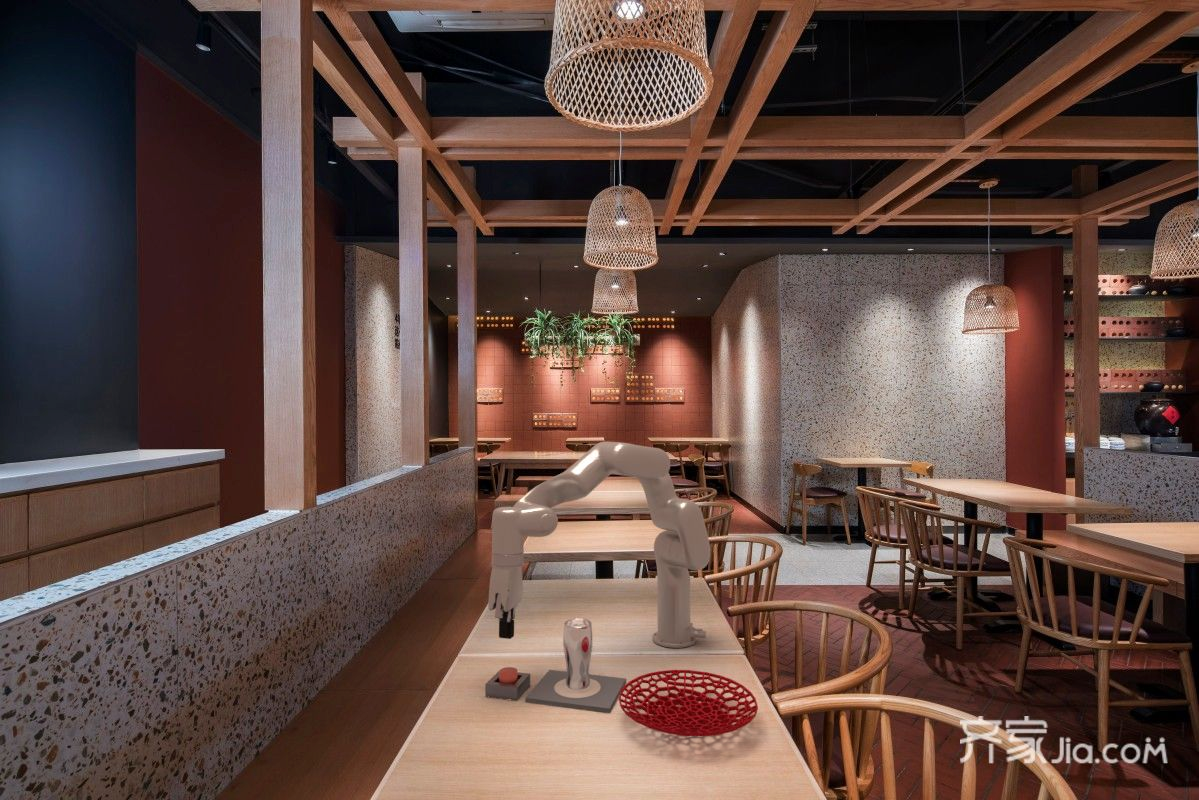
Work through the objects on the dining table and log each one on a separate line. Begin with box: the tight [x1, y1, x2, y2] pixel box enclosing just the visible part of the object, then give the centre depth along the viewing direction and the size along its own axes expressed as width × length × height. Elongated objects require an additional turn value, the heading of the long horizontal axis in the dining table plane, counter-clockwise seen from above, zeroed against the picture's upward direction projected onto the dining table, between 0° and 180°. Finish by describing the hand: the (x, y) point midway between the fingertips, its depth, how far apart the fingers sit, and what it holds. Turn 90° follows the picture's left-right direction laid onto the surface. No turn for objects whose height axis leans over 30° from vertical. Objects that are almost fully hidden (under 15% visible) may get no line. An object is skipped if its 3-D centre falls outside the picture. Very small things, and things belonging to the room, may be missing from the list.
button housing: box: [484, 670, 531, 702], centre depth 148 cm, size 8×8×3 cm
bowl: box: [618, 669, 759, 737], centre depth 133 cm, size 29×30×5 cm
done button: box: [498, 666, 519, 684], centre depth 148 cm, size 4×4×3 cm
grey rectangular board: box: [524, 669, 627, 714], centre depth 147 cm, size 20×16×1 cm
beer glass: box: [562, 618, 593, 692], centre depth 148 cm, size 7×7×15 cm
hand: (506, 637), depth 148 cm, fingers closed
